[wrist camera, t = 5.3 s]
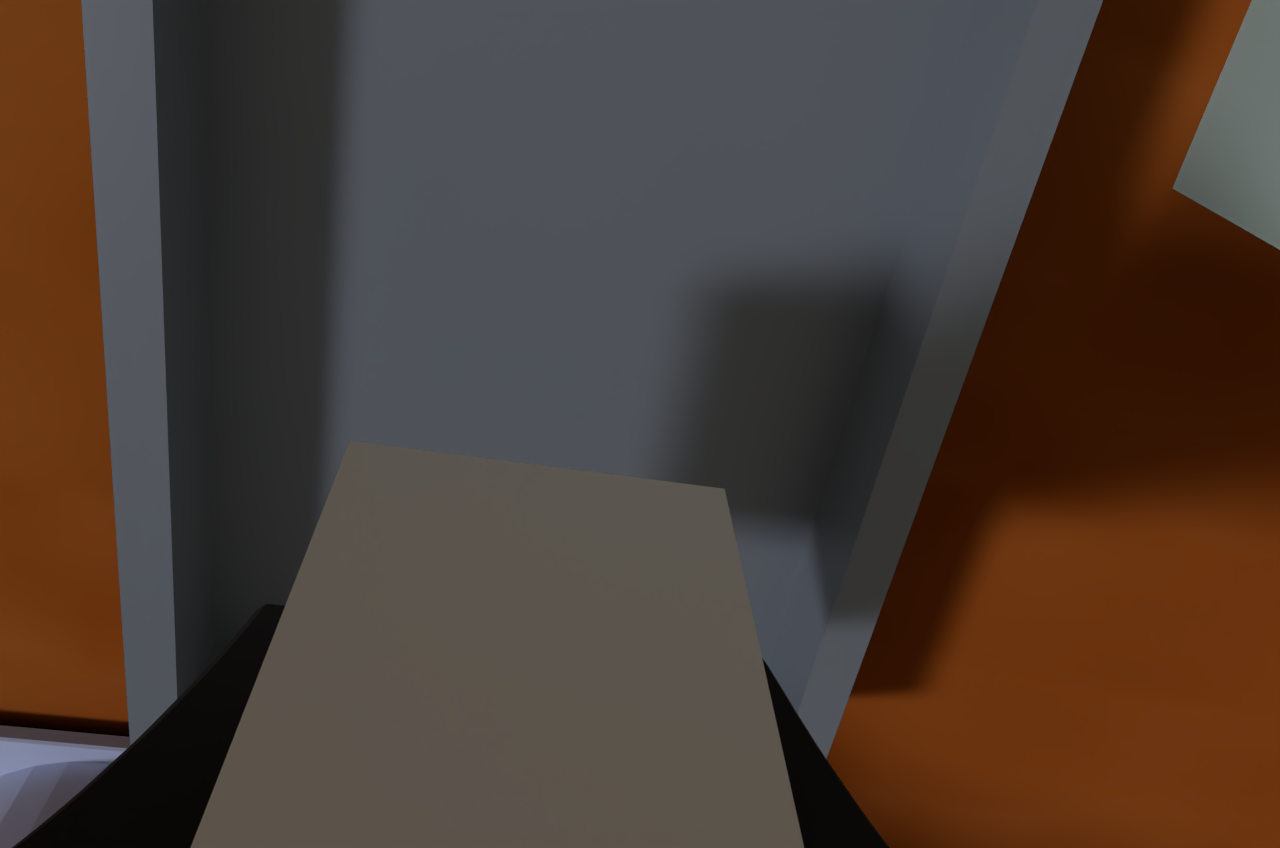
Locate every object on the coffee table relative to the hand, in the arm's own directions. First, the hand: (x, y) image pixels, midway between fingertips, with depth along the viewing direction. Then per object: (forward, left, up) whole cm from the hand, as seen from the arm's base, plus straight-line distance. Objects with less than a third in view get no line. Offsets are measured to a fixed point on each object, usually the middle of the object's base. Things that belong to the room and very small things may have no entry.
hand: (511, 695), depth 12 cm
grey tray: (+2, 0, -7) cm, 7 cm away
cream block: (0, 0, -1) cm, 1 cm away
